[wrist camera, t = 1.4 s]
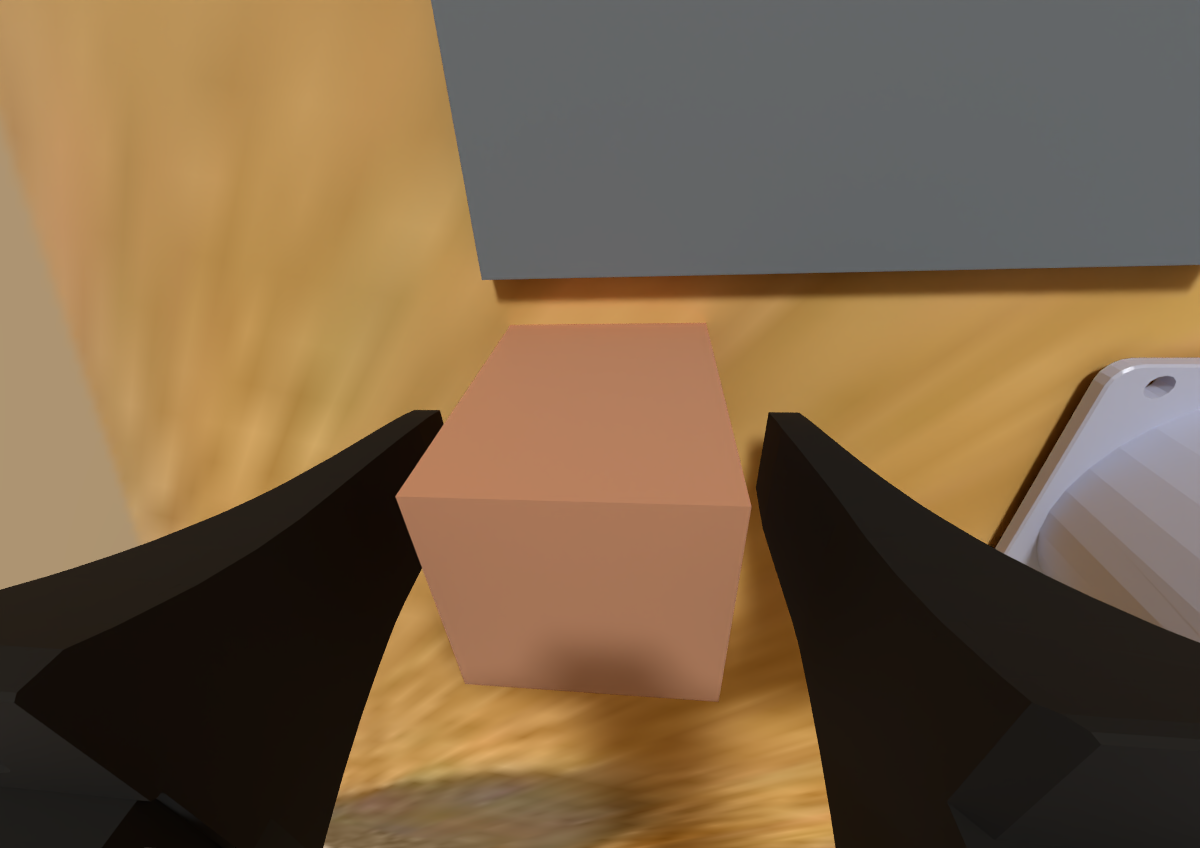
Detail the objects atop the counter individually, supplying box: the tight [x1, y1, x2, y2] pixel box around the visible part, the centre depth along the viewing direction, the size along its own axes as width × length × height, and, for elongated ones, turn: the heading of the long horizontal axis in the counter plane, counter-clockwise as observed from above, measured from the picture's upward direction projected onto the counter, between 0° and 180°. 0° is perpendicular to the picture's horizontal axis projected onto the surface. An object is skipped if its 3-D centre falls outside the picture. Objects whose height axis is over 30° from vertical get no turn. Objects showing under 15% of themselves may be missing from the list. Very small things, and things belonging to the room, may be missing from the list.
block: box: [395, 323, 751, 702], centre depth 10 cm, size 4×4×6 cm
